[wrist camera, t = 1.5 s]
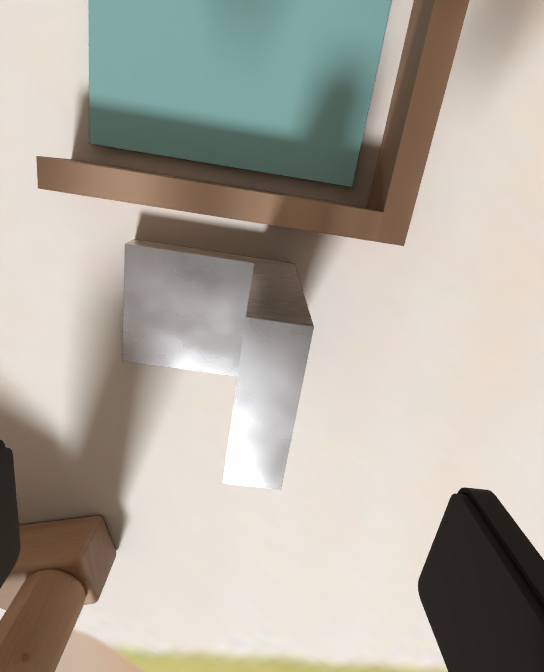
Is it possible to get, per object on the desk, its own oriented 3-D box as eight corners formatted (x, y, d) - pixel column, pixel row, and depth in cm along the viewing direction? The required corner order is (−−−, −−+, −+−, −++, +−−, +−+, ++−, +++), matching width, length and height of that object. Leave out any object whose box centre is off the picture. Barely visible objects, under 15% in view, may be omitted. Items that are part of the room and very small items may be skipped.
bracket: (294, 263, 21) (313, 327, 12) (275, 369, 23) (280, 489, 14) (134, 238, 20) (31, 286, 11) (131, 349, 22) (41, 462, 14)
